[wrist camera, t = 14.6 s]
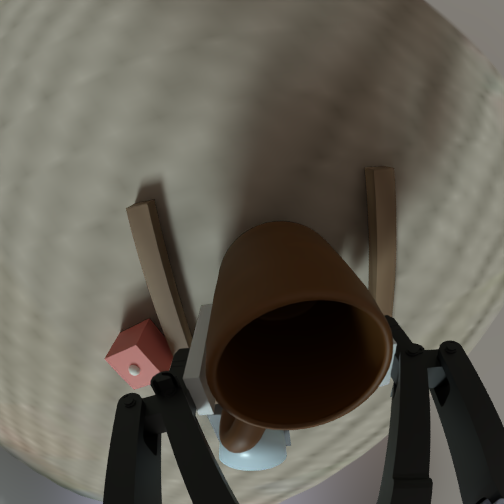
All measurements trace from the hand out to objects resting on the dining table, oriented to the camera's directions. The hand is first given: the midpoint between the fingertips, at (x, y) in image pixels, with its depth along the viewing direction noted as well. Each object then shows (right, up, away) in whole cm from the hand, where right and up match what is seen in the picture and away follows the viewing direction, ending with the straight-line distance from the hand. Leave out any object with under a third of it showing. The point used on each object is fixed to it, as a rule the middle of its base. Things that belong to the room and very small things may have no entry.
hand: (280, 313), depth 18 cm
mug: (-1, 0, +2) cm, 2 cm away
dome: (-2, -13, +6) cm, 15 cm away
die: (-10, -4, +4) cm, 12 cm away
